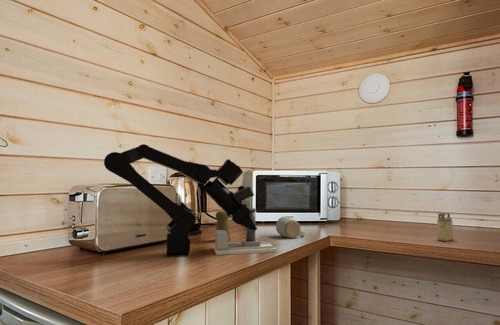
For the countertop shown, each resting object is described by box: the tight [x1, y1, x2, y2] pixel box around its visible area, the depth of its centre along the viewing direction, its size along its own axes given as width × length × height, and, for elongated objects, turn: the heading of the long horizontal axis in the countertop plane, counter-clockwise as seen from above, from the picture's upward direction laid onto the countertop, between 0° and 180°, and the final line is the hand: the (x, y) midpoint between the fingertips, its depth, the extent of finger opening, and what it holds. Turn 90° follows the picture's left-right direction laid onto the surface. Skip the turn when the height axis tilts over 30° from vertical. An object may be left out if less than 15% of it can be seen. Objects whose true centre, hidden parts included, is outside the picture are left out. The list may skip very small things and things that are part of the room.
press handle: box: [241, 207, 261, 247], centre depth 108 cm, size 5×6×12 cm
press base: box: [212, 229, 278, 256], centre depth 107 cm, size 19×10×6 cm, turn 101°
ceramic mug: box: [275, 216, 306, 239], centre depth 131 cm, size 11×8×8 cm
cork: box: [215, 210, 232, 243], centre depth 123 cm, size 6×6×11 cm
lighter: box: [436, 212, 454, 242], centre depth 124 cm, size 7×4×10 cm, turn 124°
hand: (255, 229), depth 108 cm, fingers closed on press handle, 3 cm apart
